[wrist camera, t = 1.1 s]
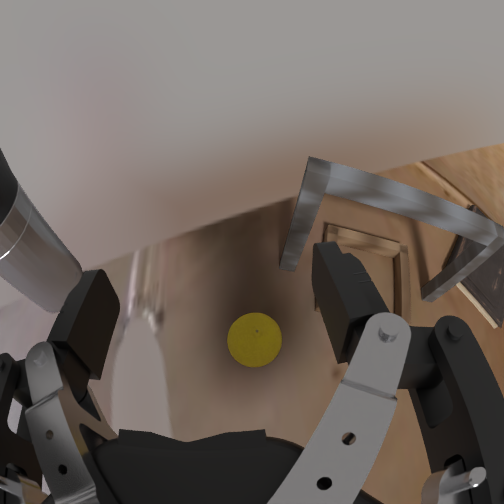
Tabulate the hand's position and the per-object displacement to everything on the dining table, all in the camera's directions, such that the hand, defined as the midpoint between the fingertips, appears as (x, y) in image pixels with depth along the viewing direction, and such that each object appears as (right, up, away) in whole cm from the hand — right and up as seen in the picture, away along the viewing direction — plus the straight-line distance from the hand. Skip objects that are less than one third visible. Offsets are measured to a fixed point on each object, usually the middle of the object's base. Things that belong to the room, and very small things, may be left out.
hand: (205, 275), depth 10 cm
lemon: (+2, -10, +21) cm, 23 cm away
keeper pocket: (+17, -3, +26) cm, 31 cm away
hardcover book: (+47, -1, +30) cm, 55 cm away
